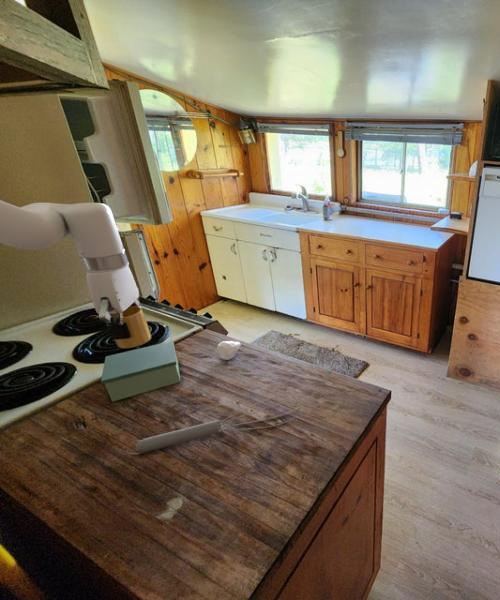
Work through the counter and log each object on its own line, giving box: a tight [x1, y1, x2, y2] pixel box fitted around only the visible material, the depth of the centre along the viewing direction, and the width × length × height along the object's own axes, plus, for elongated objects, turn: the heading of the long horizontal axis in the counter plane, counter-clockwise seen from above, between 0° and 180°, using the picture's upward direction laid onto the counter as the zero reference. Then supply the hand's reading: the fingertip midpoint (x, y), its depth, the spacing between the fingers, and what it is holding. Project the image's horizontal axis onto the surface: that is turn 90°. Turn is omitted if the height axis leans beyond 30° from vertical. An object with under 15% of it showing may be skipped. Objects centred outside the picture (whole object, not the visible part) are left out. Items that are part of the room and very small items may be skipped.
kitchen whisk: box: [125, 395, 301, 455], centre depth 70 cm, size 6×34×6 cm, turn 111°
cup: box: [112, 306, 152, 349], centre depth 79 cm, size 7×7×8 cm
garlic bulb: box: [216, 340, 242, 361], centre depth 96 cm, size 6×6×5 cm
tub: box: [100, 340, 181, 402], centre depth 84 cm, size 15×12×7 cm
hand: (130, 329), depth 79 cm, fingers closed on cup, 6 cm apart
